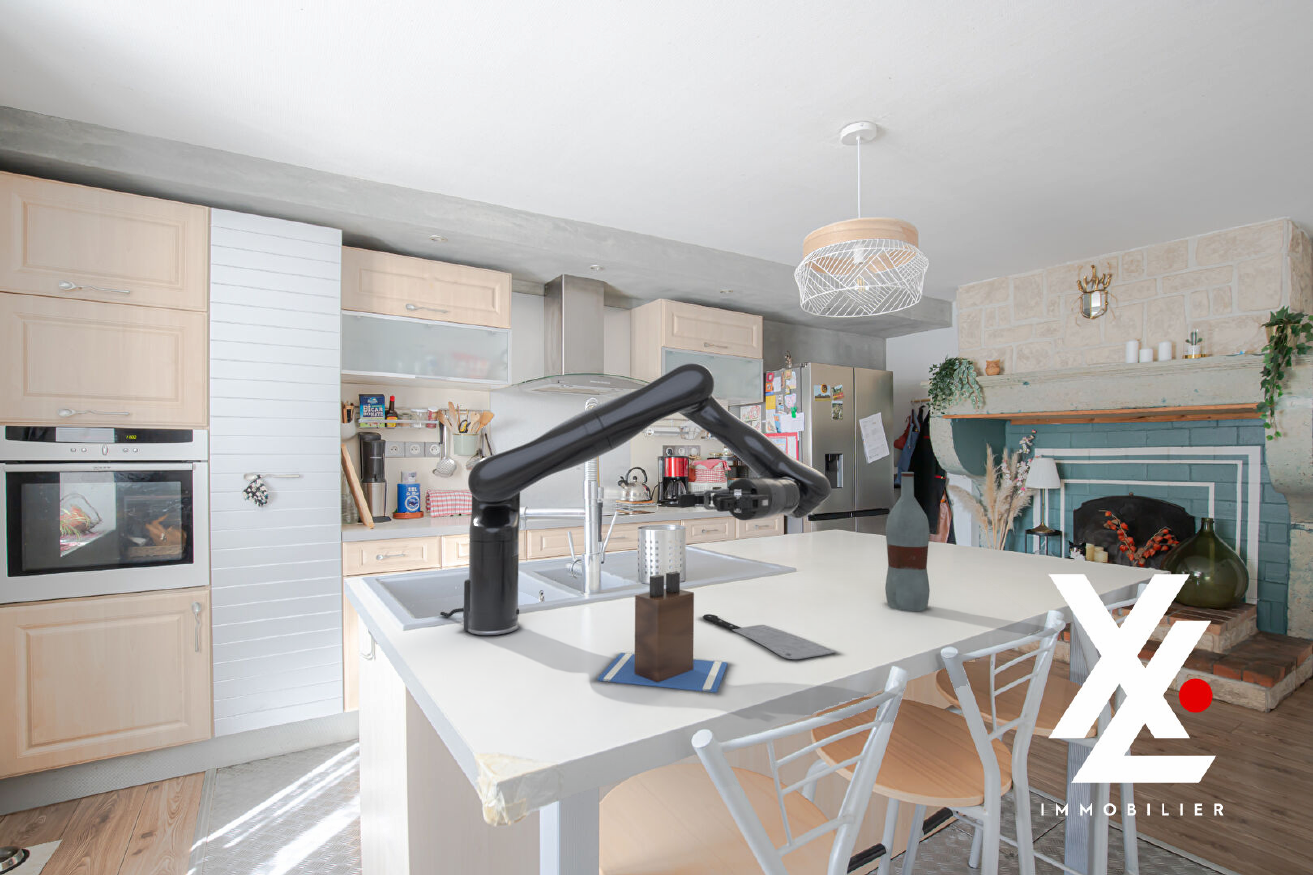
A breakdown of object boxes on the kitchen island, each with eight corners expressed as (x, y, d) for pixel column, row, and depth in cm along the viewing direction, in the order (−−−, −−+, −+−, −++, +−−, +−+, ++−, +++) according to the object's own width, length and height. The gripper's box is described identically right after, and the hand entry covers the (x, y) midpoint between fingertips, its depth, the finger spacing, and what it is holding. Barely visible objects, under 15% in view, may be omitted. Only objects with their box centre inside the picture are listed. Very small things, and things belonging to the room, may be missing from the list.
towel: (597, 680, 94) (597, 677, 94) (621, 655, 106) (621, 652, 106) (716, 692, 90) (716, 689, 90) (727, 664, 101) (727, 662, 101)
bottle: (908, 600, 146) (908, 471, 146) (939, 609, 137) (939, 472, 138) (876, 603, 143) (876, 471, 143) (905, 613, 134) (906, 473, 134)
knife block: (634, 673, 96) (635, 575, 96) (670, 661, 102) (670, 568, 102) (657, 682, 92) (658, 580, 93) (693, 669, 98) (694, 573, 98)
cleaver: (737, 612, 133) (697, 617, 129) (737, 609, 133) (697, 615, 129) (837, 653, 107) (791, 661, 103) (837, 650, 107) (791, 658, 103)
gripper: (725, 475, 119) (666, 478, 108) (790, 478, 109) (732, 482, 98) (725, 515, 119) (666, 522, 108) (790, 522, 109) (732, 530, 98)
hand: (698, 503), depth 103 cm, fingers open, 8 cm apart
